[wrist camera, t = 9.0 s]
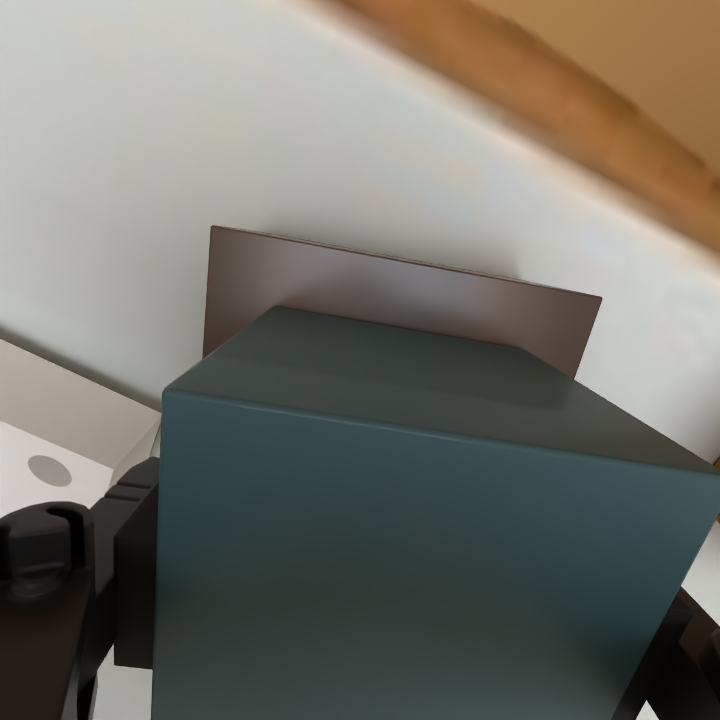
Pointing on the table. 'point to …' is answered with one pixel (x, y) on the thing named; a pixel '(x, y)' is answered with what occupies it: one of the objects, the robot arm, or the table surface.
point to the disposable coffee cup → (719, 466)
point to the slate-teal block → (408, 531)
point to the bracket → (64, 433)
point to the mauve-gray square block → (389, 295)
